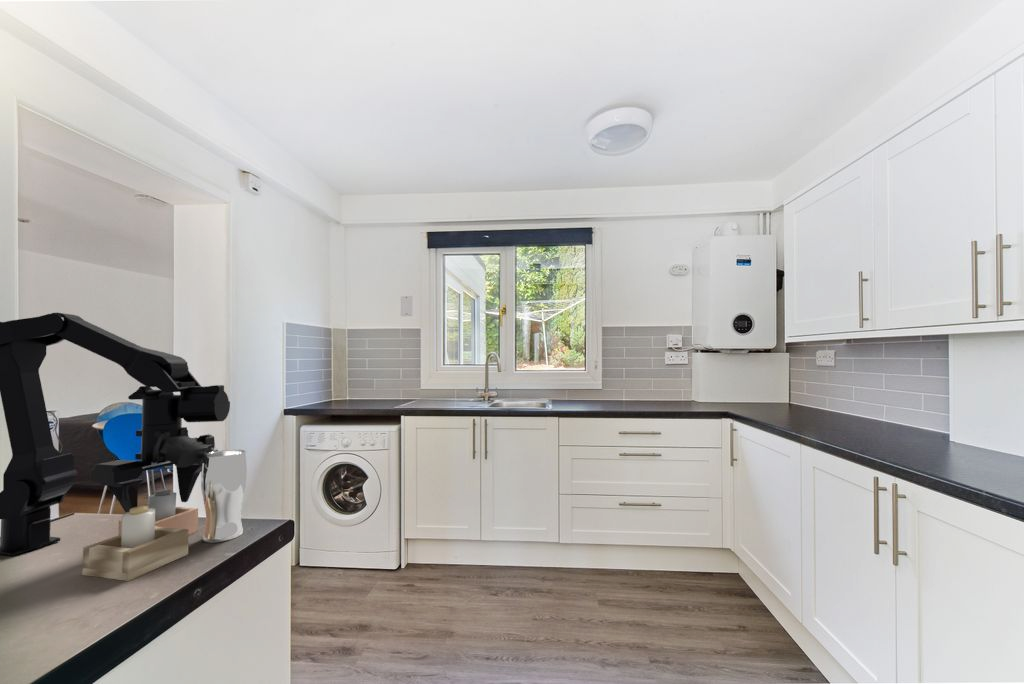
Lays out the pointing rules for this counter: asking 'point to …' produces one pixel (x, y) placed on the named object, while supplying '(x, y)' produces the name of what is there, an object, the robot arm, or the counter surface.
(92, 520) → the counter surface
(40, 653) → the counter surface
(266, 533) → the counter surface
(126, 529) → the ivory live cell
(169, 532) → the frame
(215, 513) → the beer glass
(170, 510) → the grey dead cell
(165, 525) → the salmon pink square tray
